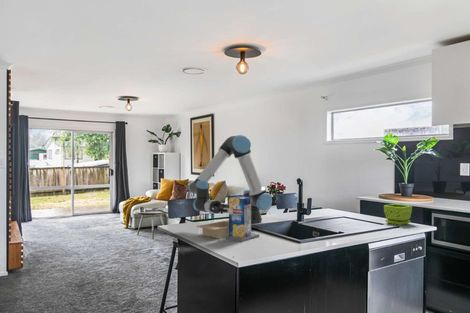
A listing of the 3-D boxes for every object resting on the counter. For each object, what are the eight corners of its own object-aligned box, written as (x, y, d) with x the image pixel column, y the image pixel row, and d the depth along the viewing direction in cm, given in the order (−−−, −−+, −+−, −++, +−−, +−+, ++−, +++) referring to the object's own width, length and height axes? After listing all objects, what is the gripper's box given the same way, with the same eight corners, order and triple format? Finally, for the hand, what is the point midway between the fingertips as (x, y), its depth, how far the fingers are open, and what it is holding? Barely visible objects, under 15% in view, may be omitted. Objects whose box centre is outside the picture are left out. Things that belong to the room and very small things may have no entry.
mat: (243, 234, 215) (243, 231, 215) (259, 237, 207) (259, 234, 207) (225, 238, 202) (225, 236, 202) (241, 242, 195) (241, 239, 195)
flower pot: (394, 221, 257) (394, 203, 257) (413, 224, 245) (413, 205, 245) (382, 223, 250) (382, 205, 250) (401, 226, 238) (400, 207, 238)
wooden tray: (229, 228, 231) (229, 219, 231) (246, 231, 221) (246, 222, 221) (196, 236, 209) (196, 226, 209) (214, 240, 199) (214, 229, 199)
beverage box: (244, 237, 198) (244, 198, 198) (228, 235, 204) (228, 197, 204) (251, 235, 203) (251, 197, 203) (235, 233, 210) (235, 196, 210)
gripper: (226, 210, 229) (252, 213, 215) (198, 215, 210) (225, 219, 196) (226, 198, 229) (252, 201, 215) (198, 202, 210) (225, 205, 196)
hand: (240, 209), depth 206 cm, fingers open, 13 cm apart
